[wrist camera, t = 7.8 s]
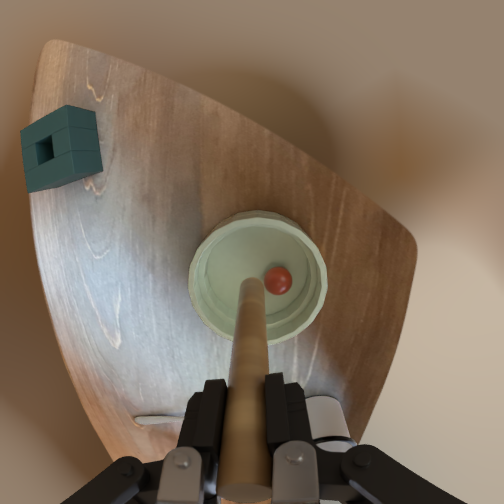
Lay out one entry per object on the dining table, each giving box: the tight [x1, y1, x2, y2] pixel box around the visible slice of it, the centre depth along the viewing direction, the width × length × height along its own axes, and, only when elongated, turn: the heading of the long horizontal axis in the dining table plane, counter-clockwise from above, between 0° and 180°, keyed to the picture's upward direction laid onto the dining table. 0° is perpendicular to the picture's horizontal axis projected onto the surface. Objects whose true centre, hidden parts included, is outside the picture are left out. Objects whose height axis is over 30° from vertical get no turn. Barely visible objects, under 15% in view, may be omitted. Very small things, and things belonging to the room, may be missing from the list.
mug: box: [305, 396, 357, 452], centre depth 34 cm, size 12×10×9 cm
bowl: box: [188, 210, 328, 345], centre depth 29 cm, size 13×13×5 cm
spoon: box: [135, 416, 184, 425], centre depth 38 cm, size 4×21×2 cm, turn 113°
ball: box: [264, 266, 292, 295], centre depth 30 cm, size 3×3×3 cm
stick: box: [215, 277, 273, 503], centre depth 14 cm, size 2×2×16 cm
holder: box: [20, 105, 103, 193], centre depth 25 cm, size 7×7×6 cm
